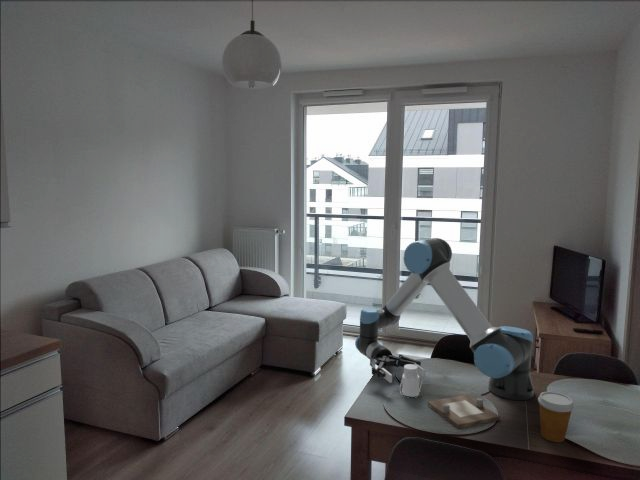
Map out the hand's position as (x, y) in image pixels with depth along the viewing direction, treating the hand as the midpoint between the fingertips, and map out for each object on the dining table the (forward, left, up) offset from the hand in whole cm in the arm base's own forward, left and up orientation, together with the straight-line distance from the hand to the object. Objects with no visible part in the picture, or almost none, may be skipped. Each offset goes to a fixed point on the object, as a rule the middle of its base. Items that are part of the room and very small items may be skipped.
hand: (408, 376), depth 168 cm
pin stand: (-17, +12, -6) cm, 22 cm away
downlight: (-1, +1, -6) cm, 6 cm away
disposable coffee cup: (-41, +23, -6) cm, 47 cm away
